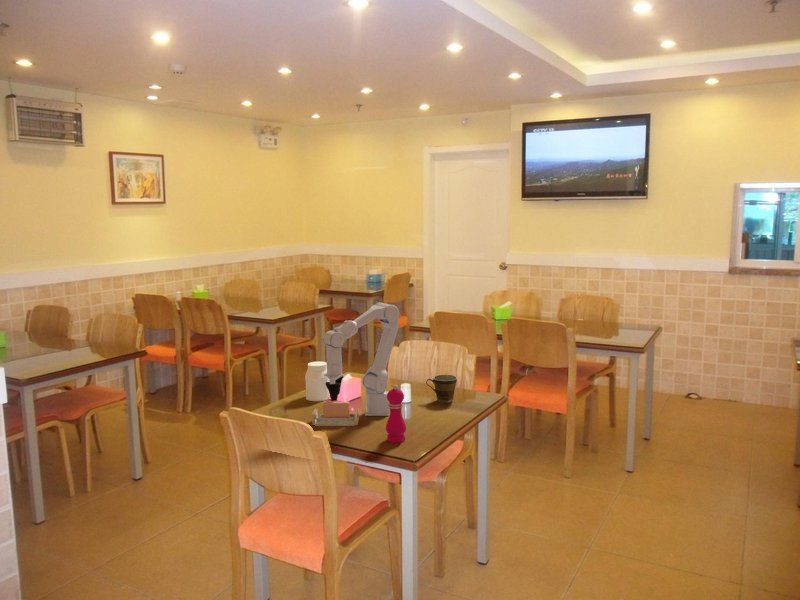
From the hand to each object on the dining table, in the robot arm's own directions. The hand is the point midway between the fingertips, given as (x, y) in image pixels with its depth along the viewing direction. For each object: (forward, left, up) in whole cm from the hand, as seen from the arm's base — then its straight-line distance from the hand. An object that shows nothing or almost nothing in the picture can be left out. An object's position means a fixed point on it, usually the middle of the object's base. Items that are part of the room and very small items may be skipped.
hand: (335, 397), depth 247 cm
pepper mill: (-23, +19, -10) cm, 32 cm away
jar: (+12, -33, -10) cm, 36 cm away
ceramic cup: (-41, -27, -10) cm, 51 cm away
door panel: (0, 0, -9) cm, 9 cm away
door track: (0, 0, -10) cm, 10 cm away
